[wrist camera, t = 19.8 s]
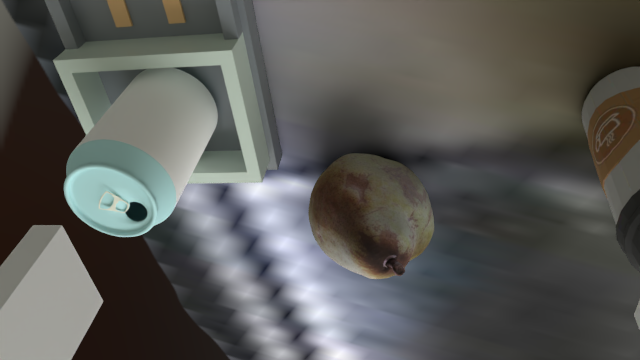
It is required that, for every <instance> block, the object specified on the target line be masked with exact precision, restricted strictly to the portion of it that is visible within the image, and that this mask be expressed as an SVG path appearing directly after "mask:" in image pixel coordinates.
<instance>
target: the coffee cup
mask: <svg viewBox="0 0 640 360" xmlns="http://www.w3.org/2000/svg"><path fill="white" fill-rule="evenodd" d="M582 122H583V125H584V128H585V131H586V134H587V137H588V143H589V148H590V151H591V154H592V157H593V160H594V164H595V167H596V170H597V173H598V176H599V179H600V182H601V185H602V188H603V191H604V193H605V195H606V197H607V199H608V202H609V205H610V208H611V211H612V214H613V217H614V220H615V223H616V235H617V241H618V243H619V245H620V247H621V249H622V251H623V252H624V253H625V254H626V256H627V258H628V260H629V262H630V263H631V265H632V266H633V267H634V268H635V269H637V270H638V271H639V272H640V67H629V68H624V69H620V70H618V71H615V72H613V73H611V74H609V75H607V76H606V77H604V78H603V79H602V80H600V81H599V82H598V83H597V84H596V85H595V86H594V87H593V88H592V89H591V91H590V92H589V94H588V96H587V98H586V100H585V102H584V105H583V109H582Z"/></svg>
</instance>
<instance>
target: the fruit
mask: <svg viewBox="0 0 640 360" xmlns="http://www.w3.org/2000/svg"><path fill="white" fill-rule="evenodd" d="M309 221H310V225H311V229H312V232H313V235H314V238H315V240H316V241H317V243H318V245H319V246H320V247H321V249H322V250H323V251H324V253H325V254H326V255H328V256H329V257H330V258H331V259H332V260H333V261H335V262H337V263H338V264H340V265H341V266H343V267H345V268H347V269H348V270H350V271H352V272H355V273H358V274H361V275H363V276H365V277H368V278H371V279H382V278H388V277H391V276H394V275H398V276H401V275H402V274H403V273H404V272H405V269H404V268H405V266H406V265H407V264H408V262H409V261H410V260H412V259H413V258H415V257H417V256H418V255H420V254H421V253H422V252H423V251H424V250H425V248H426V247H427V246H428V244H429V242H430V240H431V237H432V234H433V231H434V218H433V212H432V209H431V205H430V201H429V197H428V194H427V192H426V190H425V188H424V186H423V185H422V183H421V182H420V180H419V179H418V178H417V176H416V175H415V174H414V173H413V172H412V171H411V170H410V169H408V168H407V167H406V166H404V165H403V164H401V163H399V162H396V161H393V160H389V159H385V158H382V157H380V156H376V155H371V154H362V153H350V154H346V155H344V156H342V157H340V158H338V159H337V160H335V161H334V162H333V163H332V164H331V165H330V166H329V167H328V168H327V169H326V170H325V171H324V172H323V173H322V174H321V176H320V177H319V178H318V180H317V182H316V183H315V186H314V188H313V191H312V193H311V198H310V204H309Z"/></svg>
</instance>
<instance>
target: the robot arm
mask: <svg viewBox="0 0 640 360" xmlns="http://www.w3.org/2000/svg"><path fill="white" fill-rule="evenodd" d="M102 303H103V300H102V298H101V296H100V294H99V293H98V291H97V289H96V287H95V285H94V283H93V282H92V280H91V278H90V276H89V274H88V272H87V270H86V269H85V267H84V265H83V263H82V261H81V260H80V258H79V256H78V254H77V253H76V250H75V248H74V247H73V245H72V243H71V241H70V239H69V237H68V236H67V234H66V232H65V230H64V228H63V227H62V225H33V226H32V227H31V229H30V230H29V231H28V232H27V234H26V235H25V236H24V238H23V239H22V240H21V241H20V243H19V244H18V245H17V246H16V248H15V249H14V250H13V251H12V253H11V254H10V255H9V256H8V258H7V259H6V260H5V262H4V263H3V264H2V265H1V267H0V360H71V359H72V357H73V355H74V353H75V352H76V350H77V348H78V346H79V344H80V343H81V341H82V339H83V337H84V335H85V334H86V331H87V330H88V328H89V326H90V324H91V323H92V321H93V319H94V317H95V315H96V313H97V312H98V310H99V308H100V306H101V305H102ZM634 317H635V319H636V322H637V324H638V327H639V329H640V300H639V303H638V306H637V308H636V311H635V314H634Z"/></svg>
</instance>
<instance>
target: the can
mask: <svg viewBox="0 0 640 360" xmlns="http://www.w3.org/2000/svg"><path fill="white" fill-rule="evenodd" d="M217 121H218V112H217V107H216V104H215V101H214V99H213V97H212V95H211V94H210V92H209V91H208V89H207V88H206V87H205V86H204V85H203V84H202V83H201V82H200V81H199V80H198V79H196V78H195V77H193V76H192V75H190V74H188V73H186V72H184V71H182V70H179V69H176V68H156V69H146V70H144V71H142V72H141V73H139V74H138V75H137V76H136V77H135V78H134V79H133V80H132V82H131V83H130V84H129V85H128V86H127V88H126V89H125V90H124V91H123V92H122V94H121V95H120V96H119V97H118V98H117V99H116V101H115V102H114V103H113V104H112V105H111V107H110V108H109V109H108V110H107V111H106V113H105V114H104V115H103V116H102V117H101V119H100V120H99V121H98V122H97V123H96V125H95V126H94V127H93V128H92V129H91V130H90V132H89V133H88V134H87V135H86V136H85V138H84V139H83V140H82V141H81V142H80V144H79V145H78V146H77V147H76V148H75V150H74V151H73V152H72V154H71V155H70V157H69V160H68V163H67V167H66V174H67V178H66V180H65V183H64V194H65V197H66V200H67V202H68V204H69V206H70V207H71V209H72V210H73V212H74V213H75V214H76V215H77V216H78V217H79V218H80V219H81V220H82V221H84V222H85V223H86V224H88V225H89V226H91V227H93V228H95V229H97V230H99V231H101V232H103V233H106V234H109V235H113V236H119V237H134V236H138V235H141V234H144V233H146V232H147V231H149V230H150V229H151V228H152V227H153V226H154V225H157V224H159V223H161V222H163V221H164V220H165V219H166V218H168V217H169V216H170V214H171V213H172V212H173V210H174V208H175V206H176V204H177V202H178V200H179V198H180V196H181V194H182V192H183V190H184V188H185V187H186V185H187V183H188V181H189V179H190V177H191V175H192V173H193V171H194V169H195V167H196V165H197V163H198V161H199V159H200V157H201V155H202V154H203V152H204V150H205V148H206V146H207V144H208V142H209V140H210V138H211V136H212V134H213V132H214V130H215V128H216V125H217Z"/></svg>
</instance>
